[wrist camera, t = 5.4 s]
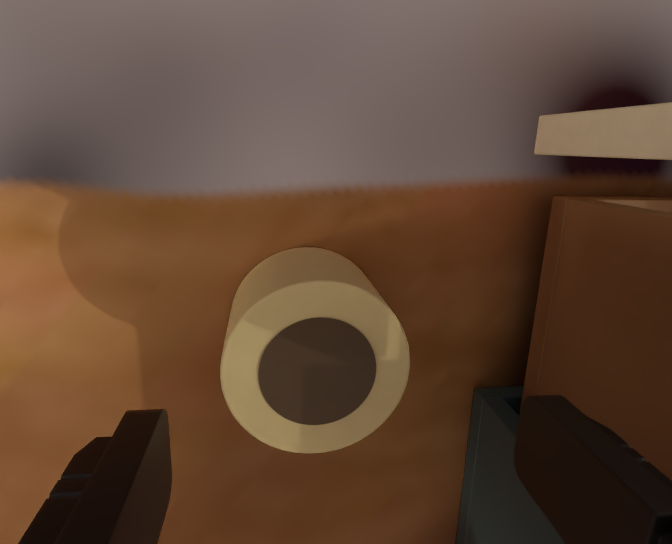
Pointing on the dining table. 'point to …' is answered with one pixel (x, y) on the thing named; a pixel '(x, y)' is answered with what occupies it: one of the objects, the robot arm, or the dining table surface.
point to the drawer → (608, 286)
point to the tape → (312, 353)
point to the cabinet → (498, 477)
